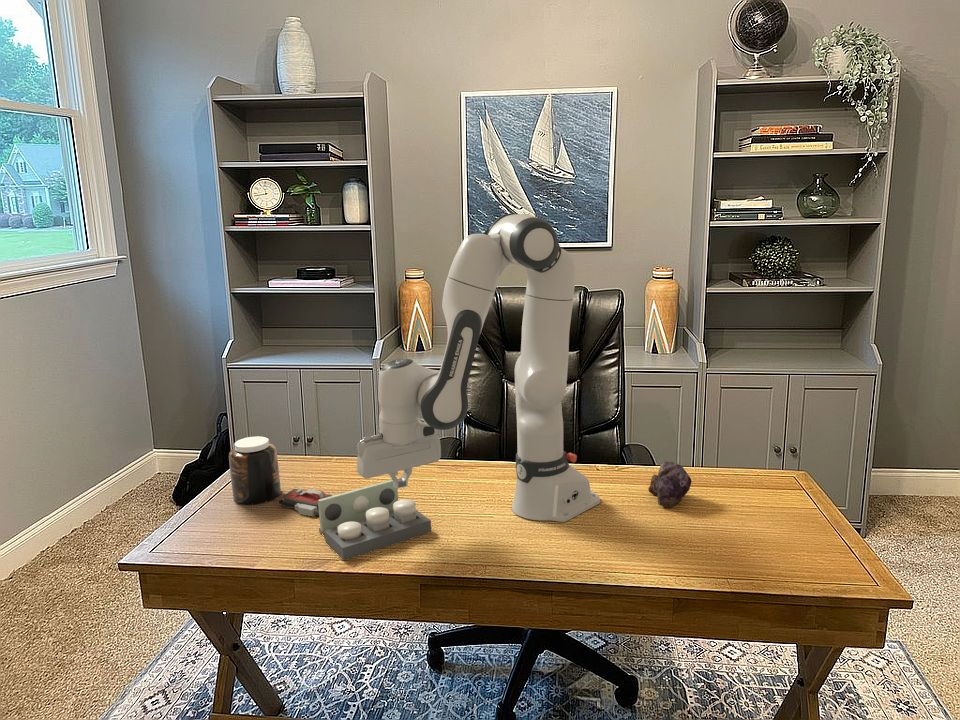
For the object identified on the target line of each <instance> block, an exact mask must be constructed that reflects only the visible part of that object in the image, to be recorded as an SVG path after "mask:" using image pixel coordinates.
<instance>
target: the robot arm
mask: <svg viewBox="0 0 960 720" xmlns="http://www.w3.org/2000/svg"><path fill="white" fill-rule="evenodd" d="M511 264H514V265H518V266H522V267H524V268H525V271H526V275H527V276H526V279H527V281H526V287H525V296H524V297H525V298H524V304H523V314H522V323H521V324H522V325H521V339H520V340H521V342H520V343H521V344H520V354H519V356H518V357H517V360H516V361H515V365H514V389H515V390H514V391H515V410H516V432H517V433H516V434H517V435H516V438H517V439H516V440H517V447H516V448H517V449H516V451H517V452H516V453H515V471H516V481H515V482H516V483H515V491H514V496H513V501H512V504H511V511H512V513H514V514H516V515H517V516H519V517H521V518H524V519H528V520H531V521H532V520H533V521H553V522H560V523H564V522H568V521H569V520H572V519H573V518H575V517H577V516H579V515H580V514H583V513H584V512H586V511H588V510H589V509H591V508H593V507H595V506H597V505H599V504H600V503H601V498H600V496H599V495H598V494H597V493H595V492H594V491H592V490H591V484H590V480H589V479H588V478H587V476H586V475H585V474H583V473H582V472H580V471H579V470H577V469H575V468H574V467H573V466H571V465H570V464H569V461H570V462H571V463H576V461H577V460H578V459H577V458H578V456H577V454H575V453H572V452H568V453H567V451H565V450H564V419H563V418H564V417H563V409H562V408H563V406H562V401H563V400H564V397H565V395H566V392H567V391H566V390H567V381H568V369H569V356H570V355H569V354H570V353H569V349H570V348H569V347H570V346H569V345H570V331H571V330H570V329H571V320H572V312H573V305H574V297H575V288H576V287H575V286H576V282H575V281H576V273H575V272H576V271H575V269H576V268H575V259H574V258H573V255H572V254H571V253H570V252H569V251H567V250H566V249H564V248H562V247H561V245H560V243H559V238H558V236H557V232H556V231H555V228H554V227H553V226H552V225H551V223H549V222H548V221H546V220H545V219H543V218H541V217H536V216H534V215H531V214H527V213H515V212H514V213H506V214H503V215H501V216H499V217H498V218H497V219H496V220H495V221H493V222H492V224H491V226H490V227H488V229H486V230H485V231H484V232H483V233H471V234H469V235H467V236H465V238H464V239H462V242H461V244H460V246H459V247H458V249H457V251H456V253H455V255H454V258H453V260H452V263H451V265H450V267H449V271H448V274H447V277H446V280H445V283H444V288H443V293H442V302H441V303H442V304H441V307H442V312H443V316H444V320H445V322H446V330H447V340H446V341H447V342H446V345H445V346H446V347H445V349H444V355H443V357H442V361H441V365H440V369H439V370H437V369H432V368H429V367H425V366H423V365H420V364H419V363H417V362H416V361H414V360H413V359H411V358H398V359H397V358H396V359H393V360H390V361H388V362H386V363H385V364H384V365H383V366H382V367H381V369H380V370H379V371H380V372H379V375H378V388H377V389H378V390H377V391H378V392H377V393H378V394H377V395H378V403H379V407H380V411H379V416H378V425H379V428H378V429H379V431H378V432H379V433H378V434H373V435H371V436H364V437H363V438H362V439H361V440H359V442H358V443H357V445H356V450H357V460H356V472H357V473H358V474H359V475H360V477H362V478H364V480H366V479H367V480H368V479H372V478H376V477H380V476H384V475H385V476H386V475H388V476H389V477H390V478H391V479H390V480H393V487H394V488H395V489H402V488H406V487H408V486H409V485H408V484H409V483H408V482H409V478H410V477H411V475H412V472H413V468H417V467H421V466H425V465H429V464H434V463H438V462H439V461H440V459H441V457H442V448H441V447H442V445H441V439H440V437H439V435H438V433H439V430H440V431H446V430H452V429H454V428H456V427H457V426H459V425H460V424H461V423H463V421H464V420H465V419H466V417H467V414H468V411H469V399H468V392H467V391H468V383H469V378H470V375H471V371H472V366H473V363H474V359H475V354H476V351H477V347H478V343H479V339H480V336H481V334H482V333H481V332H482V330H483V327H484V325H485V324H484V323H485V321H486V319H487V315H488V313H489V310H490V308H491V305H492V302H493V298H494V296H495V293H496V290H497V286H498V283H499V278H500V277H501V275H502V273H503V271H504V270H505V269H506V268H507V266H509V265H511ZM420 414H421V415H422V416H421V417H422V418H419V415H420ZM400 471H402V475H401V477H399V478H398V477H397V476H398V474H399V473H398V472H400Z"/></svg>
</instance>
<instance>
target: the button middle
mask: <svg viewBox="0 0 960 720" xmlns="http://www.w3.org/2000/svg"><path fill="white" fill-rule="evenodd" d="M366 522H367V528H368V529H369V530H371V531H372V532H373V533H374V532H377V531H380V530H383V529H386V528H389V510H388V509H386V508H383V507H376V508H371V509H369V510H367V511H366Z"/></svg>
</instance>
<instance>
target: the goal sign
mask: <svg viewBox="0 0 960 720" xmlns="http://www.w3.org/2000/svg"><path fill="white" fill-rule="evenodd" d="M398 489H399V488H398ZM398 489H395V488H394V487H393V480H392V479H388V480H386V481H382V482H378V483H374V484H370V485H367V486H364V487H363V486H362V487H359V488H355V489H352V490H348V491H345V492H342V493H338V494H335V495H332V496H330V497H327V498H323V499H319V500H318V506H319V515H318V516H319V527H318V532H319V534H321V535H322V534H323V535H324V536H325V533H324V531H326V530H329V529H332V528H336V527H338V526H339V525H340V524H342V523H345V522H356V521H359V520H362V519H366V511H367V510H369V509H371V508H376V507H383V508H386V509H388V510H389V511H392V510H393V504H394V503H395V502H396V501H399V492H398V491H399V490H398ZM323 535H322V536H323ZM324 536H323V537H324Z"/></svg>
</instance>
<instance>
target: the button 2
mask: <svg viewBox="0 0 960 720" xmlns="http://www.w3.org/2000/svg"><path fill="white" fill-rule="evenodd" d="M416 505H417V504H416V501H415V500H412V499H398V501H396V502H395V503H394V504H393V511H394V519H395V520H396V521H397V522H399V523H400V524H402V523H406V522H409V521H412V520H415V519H416V510H417V507H416Z"/></svg>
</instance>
